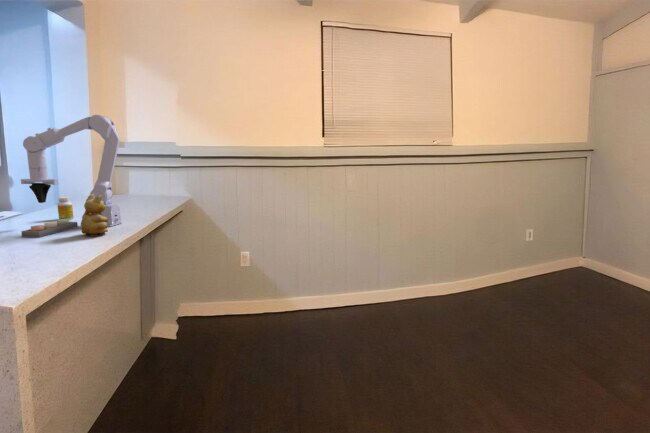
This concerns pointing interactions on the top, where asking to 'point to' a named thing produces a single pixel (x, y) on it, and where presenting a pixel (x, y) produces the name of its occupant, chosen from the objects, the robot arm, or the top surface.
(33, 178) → the robot arm
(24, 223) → the top surface
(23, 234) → the panel
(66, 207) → the supplement bottle
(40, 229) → the terracotta button
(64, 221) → the sage button
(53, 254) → the top surface
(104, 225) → the decorative figurine
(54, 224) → the ivory button
